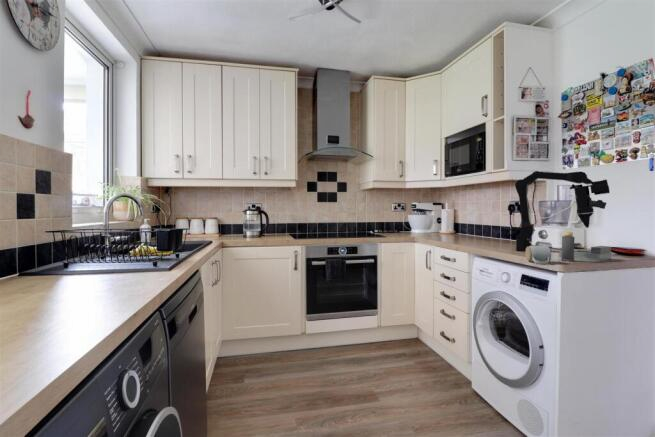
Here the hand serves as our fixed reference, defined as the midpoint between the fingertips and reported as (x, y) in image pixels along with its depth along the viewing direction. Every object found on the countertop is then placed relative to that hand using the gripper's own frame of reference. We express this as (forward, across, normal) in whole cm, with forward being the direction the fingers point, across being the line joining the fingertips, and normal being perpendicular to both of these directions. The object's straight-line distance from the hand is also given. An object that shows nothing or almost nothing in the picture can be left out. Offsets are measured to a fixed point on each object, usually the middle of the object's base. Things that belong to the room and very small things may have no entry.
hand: (587, 227), depth 157 cm
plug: (+13, -26, +9) cm, 31 cm away
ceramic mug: (+12, -40, +18) cm, 45 cm away
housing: (+14, -11, +3) cm, 18 cm away
